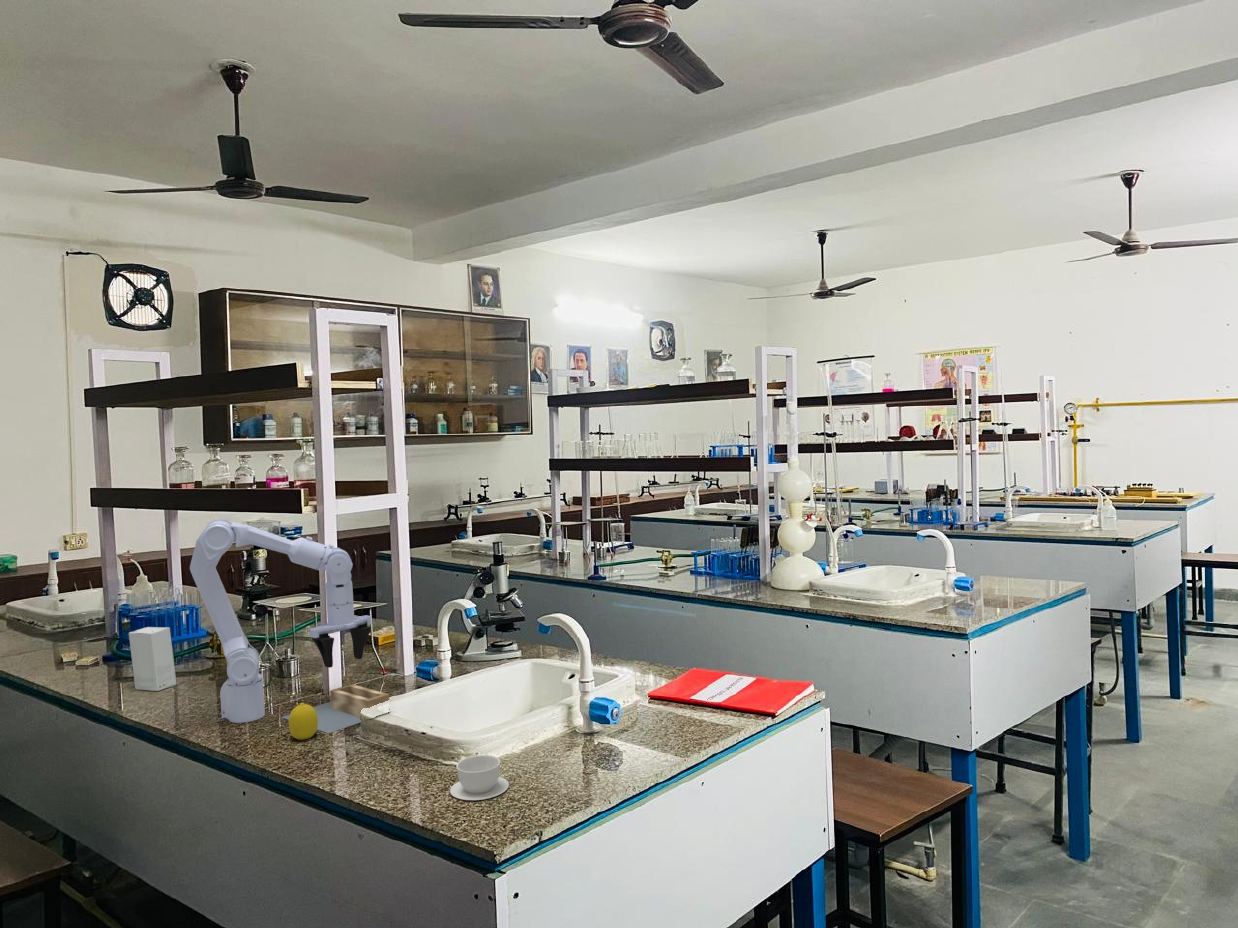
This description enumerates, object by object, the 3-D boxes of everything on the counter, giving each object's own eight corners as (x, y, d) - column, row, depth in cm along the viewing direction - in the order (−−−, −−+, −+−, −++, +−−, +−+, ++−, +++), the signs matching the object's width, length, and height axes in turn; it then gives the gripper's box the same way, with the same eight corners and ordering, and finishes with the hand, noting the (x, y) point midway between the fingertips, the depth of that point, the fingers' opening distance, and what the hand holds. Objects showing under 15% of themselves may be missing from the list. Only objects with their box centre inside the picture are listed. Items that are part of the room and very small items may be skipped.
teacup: (494, 805, 141) (493, 777, 141) (439, 800, 144) (438, 772, 144) (518, 780, 151) (516, 753, 151) (466, 775, 154) (464, 750, 153)
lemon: (284, 744, 173) (281, 704, 173) (307, 735, 178) (305, 696, 177) (301, 749, 170) (298, 708, 169) (325, 739, 174) (322, 700, 174)
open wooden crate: (331, 708, 191) (330, 690, 191) (352, 701, 195) (351, 683, 195) (368, 719, 182) (367, 701, 182) (390, 712, 186) (389, 694, 186)
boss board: (281, 721, 187) (280, 705, 186) (346, 700, 199) (345, 685, 199) (328, 737, 175) (327, 720, 175) (394, 714, 188) (393, 699, 188)
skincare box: (177, 685, 218) (172, 626, 217) (155, 692, 213) (151, 632, 212) (153, 682, 221) (149, 625, 221) (132, 689, 216) (127, 630, 215)
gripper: (321, 610, 186) (324, 673, 187) (377, 598, 198) (381, 657, 198) (303, 607, 191) (307, 668, 191) (359, 595, 202) (363, 652, 203)
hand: (343, 662), depth 195 cm, fingers open, 7 cm apart
